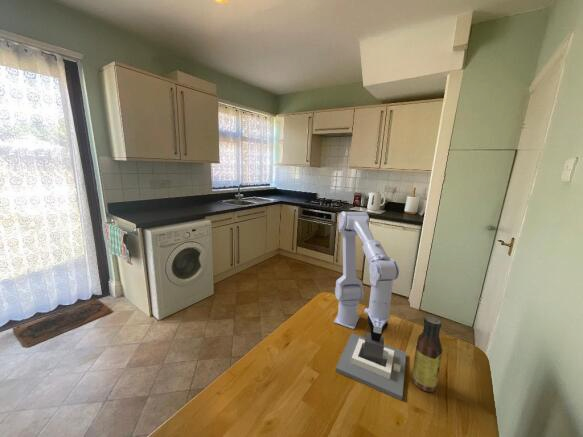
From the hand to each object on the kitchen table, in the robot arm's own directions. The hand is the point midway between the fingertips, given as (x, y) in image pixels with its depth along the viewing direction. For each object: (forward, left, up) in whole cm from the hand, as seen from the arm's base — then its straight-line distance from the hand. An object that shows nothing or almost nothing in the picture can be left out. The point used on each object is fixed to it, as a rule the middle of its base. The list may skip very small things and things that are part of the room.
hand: (375, 340), depth 72 cm
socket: (0, 0, -8) cm, 8 cm away
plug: (0, 0, -7) cm, 7 cm away
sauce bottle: (0, +14, -8) cm, 16 cm away
